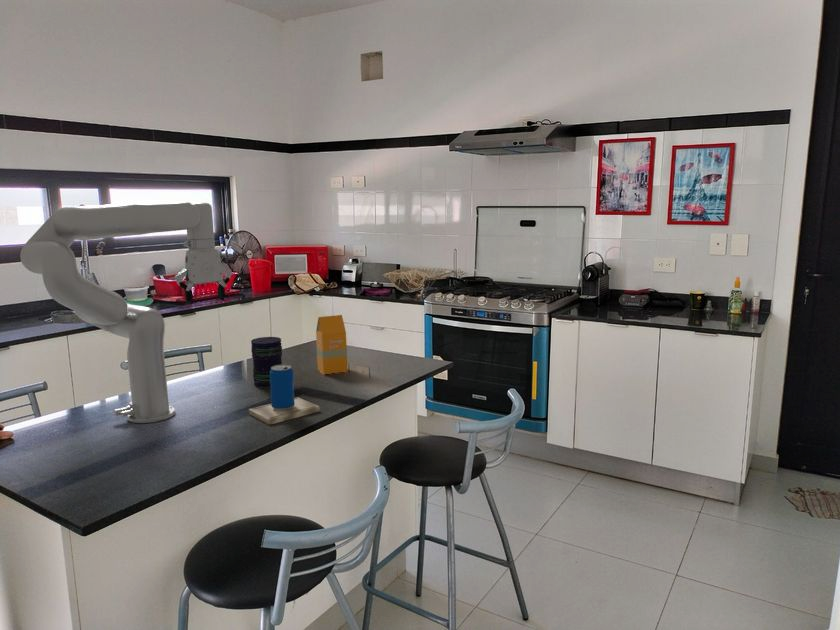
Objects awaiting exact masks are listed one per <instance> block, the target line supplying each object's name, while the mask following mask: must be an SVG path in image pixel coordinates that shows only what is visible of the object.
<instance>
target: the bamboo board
mask: <svg viewBox="0 0 840 630" xmlns="http://www.w3.org/2000/svg"><path fill="white" fill-rule="evenodd" d="M294 402H295V405H294V406H293V407H292V408H291V409H289V410H283V411H280V410H275V409H274V408H273V407H272V405H271V403H268V404H264V405H260V406H256V407H252V408H249V409H248V415H249V416H252V417H253V418H255V419H257V420H259V421H261V422H263V423H265V424H267V425H269V426H270V424H271V425H273V424H278V423H281V422H285V420H286V421H289V420H292V419H296V418H297V419H298V418H299V417H304V416H307V415H311V414H315V413H318V412H320V406H319V405H317V404H315V403H312V402H310V401H308V400H305V399H303V398H301V397H299V396H297V397H294Z"/></svg>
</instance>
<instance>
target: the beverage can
mask: <svg viewBox="0 0 840 630" xmlns="http://www.w3.org/2000/svg"><path fill="white" fill-rule="evenodd" d="M270 387H271V388H270V399H271V400H270V402H271V403H270V404H271V405H272V407H273V408H274V409H275V410H280V411H283V410H289V409H291V408H292V407H293V406H294V405H295V402H294V398H295V384H294V370H293V368H292V365H289V364H282V365H275V366H272V367H271V371H270Z"/></svg>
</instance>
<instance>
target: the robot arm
mask: <svg viewBox="0 0 840 630" xmlns="http://www.w3.org/2000/svg"><path fill="white" fill-rule="evenodd" d="M214 229H215V228H214V219H213V207H212V205H211V204H210V203H209V202H189V201H171V202H164V203H116V204H115V203H113V204H103V205H102V204H101V205H100V204H99V205H86V206H85V205H83V206H65V207H60V208H59V209H57V210H56V211H54V213H52V214H51V215H50V216H49V217H48V218H47V219H46V220H45V222H44V223H43V224H42V225H41V226H40V227H39V228H38V230H36V231H35V232H34V234H33V235H31V237H30V238H29V239H28V240H27V242H25V244H24V245H23V247H22V249H21V250H20V261H21V262H20V263H21V264H22V265H23V267H24V268H25V269H26V270H28V271H29V272H31V273H33V274H34V273H35V274H37V275H41V276H42V280H43V285H44V287H45V289H46V291H47V293H48V294H49V296H50V297H51V298H52V300H53V301H54V302H55V301H56V302H57V303H58V304H60V305H61V306H64V307H65V308H68V309H70V310H71V311H74V314H75V315H76V316H77V317H78V318H79V319H80V320H82V321H84V322H85V323H88V324H89V325H92V326H94V327H97V328H99V329H102V330H103V331H106V332H108V333H111V334H114V335H115V336H118V337H122V338H126V339H128V344H127V345H128V346H127V350H126V351H127V352H126V353H127V354H126V361H127V366H128V377H129V386H130V387H129V389H130V396H131V397H130V399H131V401H130V402H128V405H126V406H125V407H120V408H116V409H114V410H113V414H114V416H115V417H119V416H122V417H123V418H124V417H126V416H127V417H126V418H127V421H129V422H130V423H134V424H150V423H151V424H152V423H157V422H160V421H164V420H167V419H169V418H171V417H173V416H175V414H176V408H175V407H173V406H171V405H170V404H169V403H170V402H169V393H168V392H169V391H168V382H167V373H166V361H165V347H164V346H165V345H164V344H165V342H164V341H165V331H166V330H165V329H166V323H165V319H164V317H163V316H162V314H161V313H160V312H159V311H157V310H156V309H154V308H152V307H148V306H143V305H137V304H132V303H128V302H127V301H126V299H124V297H122V295H120V294H119V293H117V292H116V291H113V290H110V289H109V288H105V287H103V286H101V285H99V284H97V283H95V282H93V281H92V280H89V279H88V278H85V277H84V276H82V274H81V273H80V272H79V269H78V267H77V260H76V256H75V253H74V251H73V249H71V246H72V244H73V243H74V242H75V241H92V240H99V239H100V240H101V239H108V238H119V237H129V236H141V235H142V236H143V235H147V234H156V233H165V232H166V233H167V232H176V231H178V232H179V231H184V230H186V237H187V238H186V241H183V242H182V245H183V247H187V249H186V250H185V259H184V269H183V270H182V271H181V272H179V273H177V275H175V276H174V277H173V279H174V280H175V282H176V284H177V285H178V287H180V288H181V289H182V290H183V291H184V298H185V299H184V300H185V302H186V303H187V304H189V305H193V304H194V296H193V290H191V289H192V287H193V286H194V285H201V284H209V283H210V284H212V283H216V285H217V287H216V291H217V299H218V300H220V301H225V297H226V287H227V284H229V282H230V280H231V277H232V274H233V272H232V271H231V270H229V269H226V268H224V267H223V265H222V264H223V263H222V260H221V255H220V252H219V249H218V248H216V246H215V243H216V241H215V233H214V232H215V230H214ZM224 275H225V276H224ZM183 278H185V281H186V282H183V280H182V279H183Z"/></svg>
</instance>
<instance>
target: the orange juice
mask: <svg viewBox="0 0 840 630" xmlns="http://www.w3.org/2000/svg"><path fill="white" fill-rule="evenodd" d="M317 318H318V319H317V324H316V329H315V335H316V338H315V339H316V341H315V342H316V358H317V371H318V370H319V371H320V372H319V371H318V372H319V373H320V374H321V375H323V374H324V375H323V376H326V375H325V374H330V375H332V374H331V373H337V374H339V373H338V372H345V373H347V372H348V349H347V346H348V345H347V331H346V327H345V323H344V319H343V314H339V315H338V314H337V315H328V316H327V315H326V316H319V317H317ZM346 371H347V372H346Z"/></svg>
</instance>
